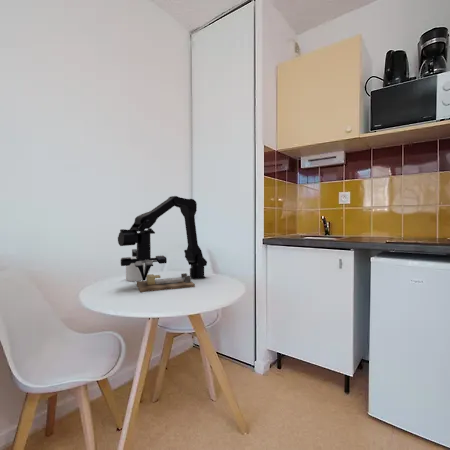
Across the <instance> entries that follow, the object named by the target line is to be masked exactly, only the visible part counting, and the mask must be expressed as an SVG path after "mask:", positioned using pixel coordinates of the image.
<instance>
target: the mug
mask: <svg viewBox="0 0 450 450" xmlns="http://www.w3.org/2000/svg"><path fill="white" fill-rule="evenodd" d="M129 257H130V258H131V259H137V258H136V257H132V256H129ZM142 265H143V271H144V270H145V263H142ZM150 269H151V268H150ZM150 269H149V271H148V274H149V273H150ZM125 279H126V281H127V282H131V281H136V282H139V281H141V280H142V281H143V279H142V276H141V273H140V270H139V268H138V267H135V263H131V264H130V265H129V266H125Z"/></svg>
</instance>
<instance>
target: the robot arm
mask: <svg viewBox="0 0 450 450" xmlns="http://www.w3.org/2000/svg"><path fill="white" fill-rule="evenodd" d="M197 205H198V203H197V201H196V200H195V199H194V198H185V197H184V198H183V197H179V196H177V195H174V196H173V195H171V196H169V197H168V198H167V199H166V200H164V201H163V202H161V203H160V204H158V205H157V206H155V207H154V208H153V209H151V210H149V211H146V212H144V213H141V214H139V215H137V216H136V217H135V218H134V222H133V224H132V225H131V226H130V228H129V229H125V228H124V229H120V230H119V233H118V235H117V243H118V245H119V246H120V247H126V246H135V245H136V248H132V249H131V256H128V257H121V258H120V266H121V267H124V266H125V267H126V266H129V265H130V264H131V263H135V267H138V268H139V270H140V273H141V276H142V279H143V280H142V281H146V276H147V275H149V273H148V271H149V269H151V268H152V267H154V263H159V264H161V265H162V264H167V260H168V259H167V257H166V256H165V255H155V257H151V256H152V255H151V253H152V252H151V248H152V247H151V235H152V234H156V232H155V231H154V229H152V227H153V225H154V224H156V222H157V220H158V219H159V218H160V217H161V216H163V215H164V214H166V212H169V210H171V209H172V208H174V207H176V208H179V210H180V213H181V214H182V216H183V217H184V224H185V226H184V227H185V232H186V241H187V242H186V243H187V248H186V249H184V250H183V251H184V258H185V259H186V261H187V263H188V265H189V266H190V268H189V276H191V279H193V280H194V279H195V280H196V279H206V276H205V267H206V266H207V264H208V261H207V259H206V258H205V257H204V256H203V251H202V249H201V247H200V246H199V242H198V236H197V235H198V234H197V226H196V218H195V215H196V214H197V211H198V210H197ZM130 257H136V258H137V259H131V258H130ZM142 263H144V271H143V265H142ZM149 272H150V271H149Z"/></svg>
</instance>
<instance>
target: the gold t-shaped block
mask: <svg viewBox="0 0 450 450" xmlns="http://www.w3.org/2000/svg"><path fill="white" fill-rule="evenodd" d="M155 279H161V275H160V274H153V273H151V274H147V276H146V279H145V281H146V283H147V284H148V285H152V284H155Z"/></svg>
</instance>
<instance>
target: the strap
mask: <svg viewBox="0 0 450 450" xmlns="http://www.w3.org/2000/svg"><path fill="white" fill-rule="evenodd" d="M175 282H185V277H181V276H180V277H169V278H155V284H164V283H175Z"/></svg>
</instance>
